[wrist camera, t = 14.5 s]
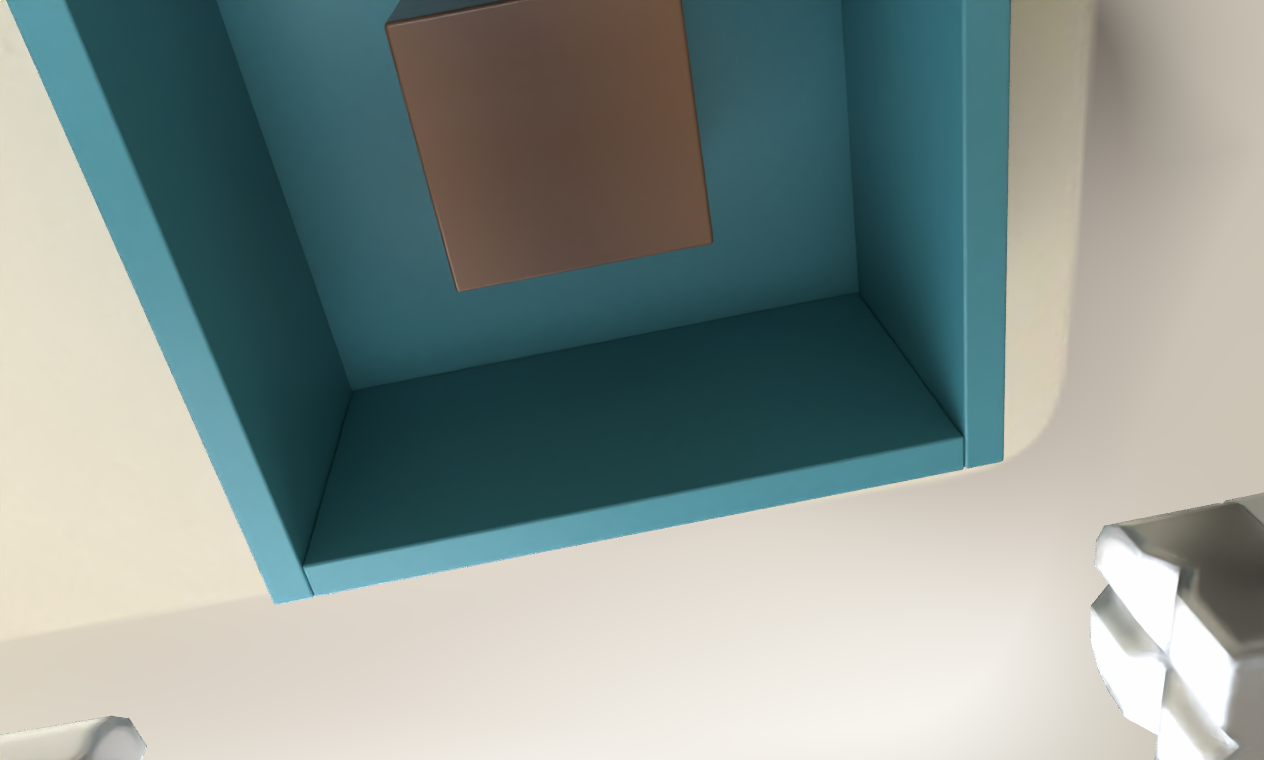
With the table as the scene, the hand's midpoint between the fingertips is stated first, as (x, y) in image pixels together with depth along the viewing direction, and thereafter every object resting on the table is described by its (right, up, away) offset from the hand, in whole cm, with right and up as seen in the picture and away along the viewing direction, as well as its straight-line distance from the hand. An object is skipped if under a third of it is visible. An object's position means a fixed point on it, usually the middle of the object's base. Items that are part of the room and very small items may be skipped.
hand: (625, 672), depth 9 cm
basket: (-2, +9, +15) cm, 17 cm away
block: (-2, +9, +14) cm, 17 cm away
